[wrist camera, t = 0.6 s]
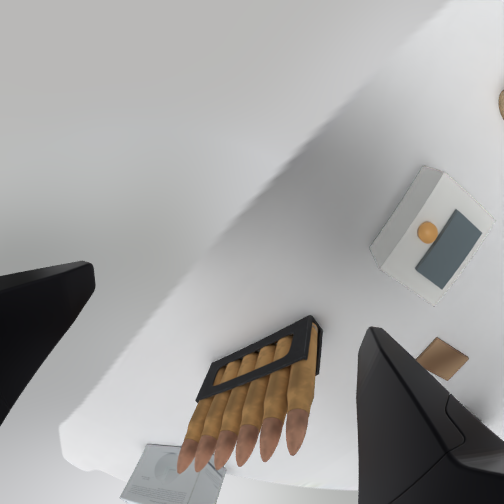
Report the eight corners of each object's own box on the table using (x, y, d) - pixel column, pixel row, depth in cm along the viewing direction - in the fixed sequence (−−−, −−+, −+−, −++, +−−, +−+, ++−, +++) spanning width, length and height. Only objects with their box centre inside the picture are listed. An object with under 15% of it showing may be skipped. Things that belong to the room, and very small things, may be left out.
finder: (469, 206, 18) (499, 222, 14) (418, 281, 21) (436, 310, 17) (422, 165, 18) (447, 172, 14) (368, 246, 21) (380, 272, 17)
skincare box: (168, 466, 38) (144, 517, 28) (147, 442, 36) (116, 496, 26) (228, 471, 35) (208, 531, 25) (208, 447, 33) (182, 513, 23)
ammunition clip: (311, 314, 23) (299, 442, 12) (323, 330, 24) (318, 458, 13) (211, 363, 27) (160, 467, 16) (223, 376, 27) (179, 480, 16)
